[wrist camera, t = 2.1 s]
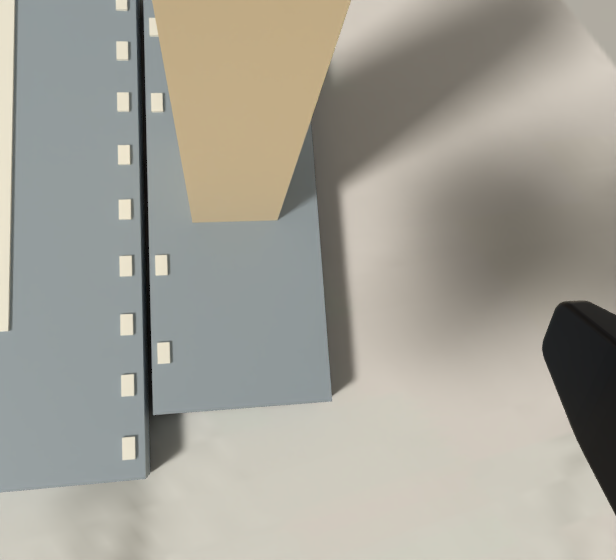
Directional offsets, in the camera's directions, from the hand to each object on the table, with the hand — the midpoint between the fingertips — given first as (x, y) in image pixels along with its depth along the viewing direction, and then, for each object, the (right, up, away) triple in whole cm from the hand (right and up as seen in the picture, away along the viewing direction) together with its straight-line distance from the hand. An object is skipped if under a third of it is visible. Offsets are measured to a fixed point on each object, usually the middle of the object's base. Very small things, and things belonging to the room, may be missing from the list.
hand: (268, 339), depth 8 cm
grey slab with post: (-2, +4, +13) cm, 14 cm away
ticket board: (-10, +4, +12) cm, 17 cm away
